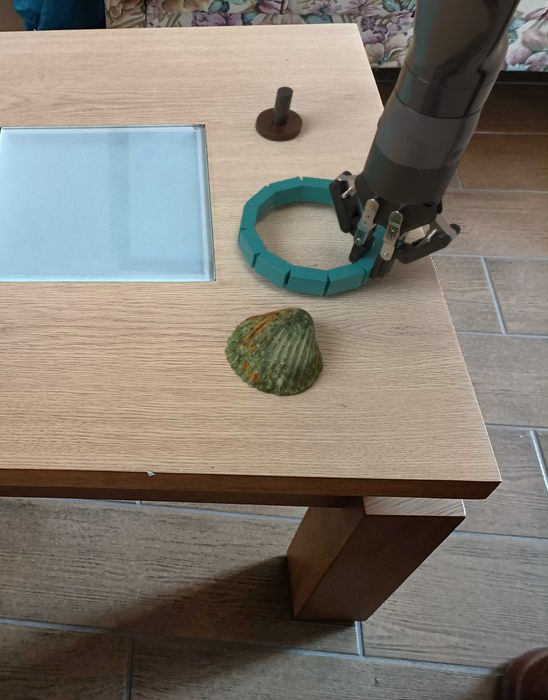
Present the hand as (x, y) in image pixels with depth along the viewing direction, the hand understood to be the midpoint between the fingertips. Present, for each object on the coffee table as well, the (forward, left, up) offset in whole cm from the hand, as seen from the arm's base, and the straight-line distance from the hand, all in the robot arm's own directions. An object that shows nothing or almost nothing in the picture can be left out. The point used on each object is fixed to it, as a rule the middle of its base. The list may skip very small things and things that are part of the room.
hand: (366, 269), depth 73 cm
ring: (+5, -5, 0) cm, 7 cm away
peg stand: (+5, -27, -1) cm, 28 cm away
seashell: (+11, +10, -2) cm, 15 cm away
